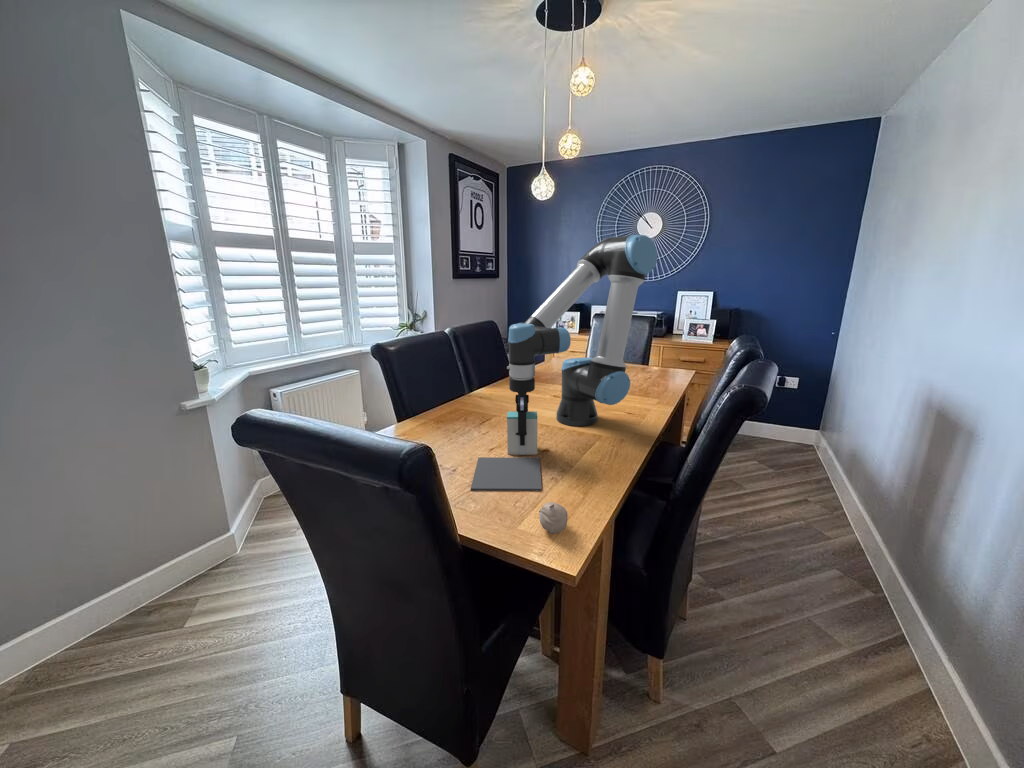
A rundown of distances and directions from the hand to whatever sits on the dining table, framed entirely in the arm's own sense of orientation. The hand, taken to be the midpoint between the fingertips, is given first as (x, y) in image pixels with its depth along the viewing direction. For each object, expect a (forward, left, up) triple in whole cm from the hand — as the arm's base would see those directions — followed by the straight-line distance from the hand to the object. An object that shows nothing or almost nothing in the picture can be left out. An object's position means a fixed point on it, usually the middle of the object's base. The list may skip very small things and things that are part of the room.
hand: (522, 449), depth 127 cm
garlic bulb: (-7, +40, -1) cm, 41 cm away
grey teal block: (0, 0, 0) cm, 0 cm away
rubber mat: (+4, +15, 0) cm, 16 cm away
